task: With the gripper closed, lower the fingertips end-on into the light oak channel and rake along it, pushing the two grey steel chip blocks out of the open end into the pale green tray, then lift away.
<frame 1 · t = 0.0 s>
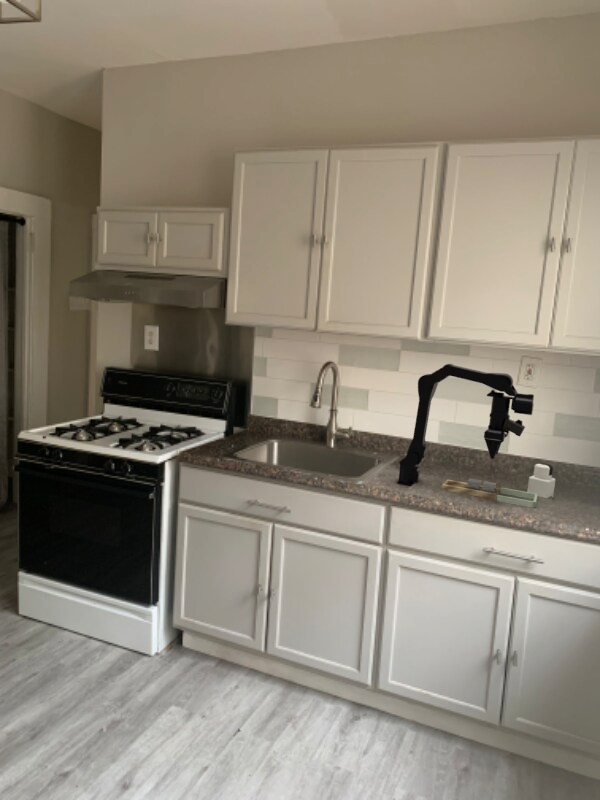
hand: (494, 456, 213), 15 cm above the worktop, tool pointing down, fingers open, 9 cm apart
chip 1: (488, 494, 215), point 1 cm above the worktop, touching oak channel
oak channel: (469, 494, 218), on the worktop
chip 2: (473, 491, 217), point 1 cm above the worktop, touching oak channel
green tray: (516, 503, 212), on the worktop
medicine bottle: (539, 497, 222), on the worktop
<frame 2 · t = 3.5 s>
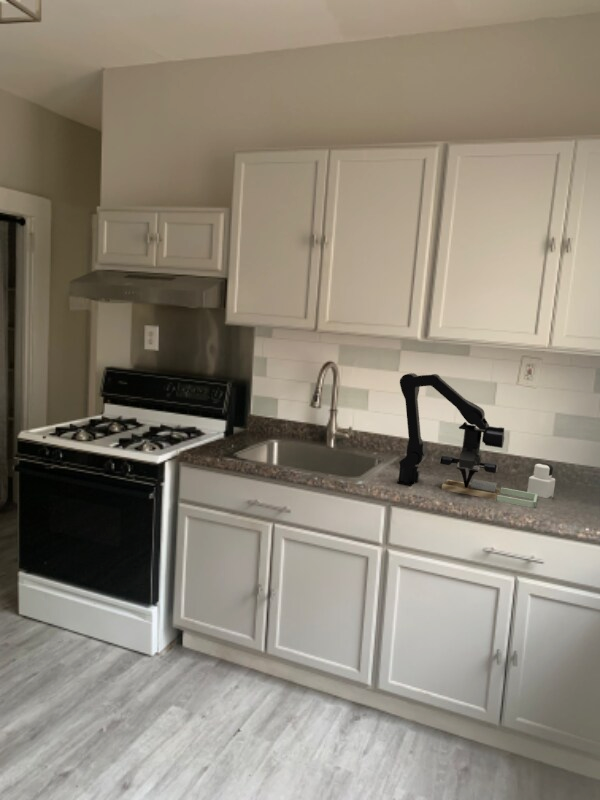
hand: (466, 487, 218), 2 cm above the worktop, tool pointing down, fingers closed
chip 1: (488, 494, 215), point 1 cm above the worktop, touching chip 2
chip 2: (476, 492, 217), point 1 cm above the worktop, touching chip 1, gripper, oak channel
everything else where it was.
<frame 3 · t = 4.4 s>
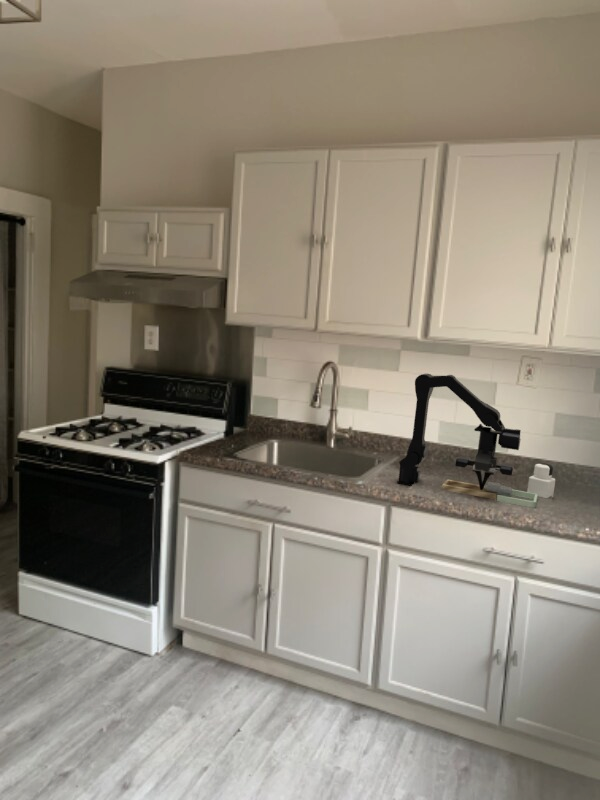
hand: (481, 489, 216), 2 cm above the worktop, tool pointing down, fingers closed
chip 1: (503, 499, 213), point 1 cm above the worktop
chip 2: (491, 495, 215), point 1 cm above the worktop, touching gripper, oak channel
everything else where it was.
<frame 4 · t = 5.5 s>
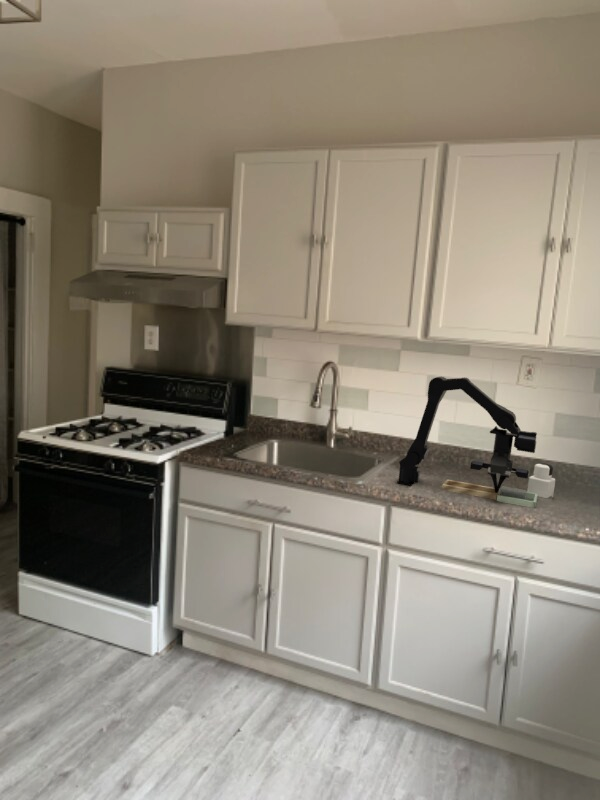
hand: (496, 492, 214), 2 cm above the worktop, tool pointing down, fingers closed
chip 1: (518, 502, 212), point 1 cm above the worktop, touching green tray
chip 2: (505, 499, 213), point 1 cm above the worktop, touching gripper
everything else where it was.
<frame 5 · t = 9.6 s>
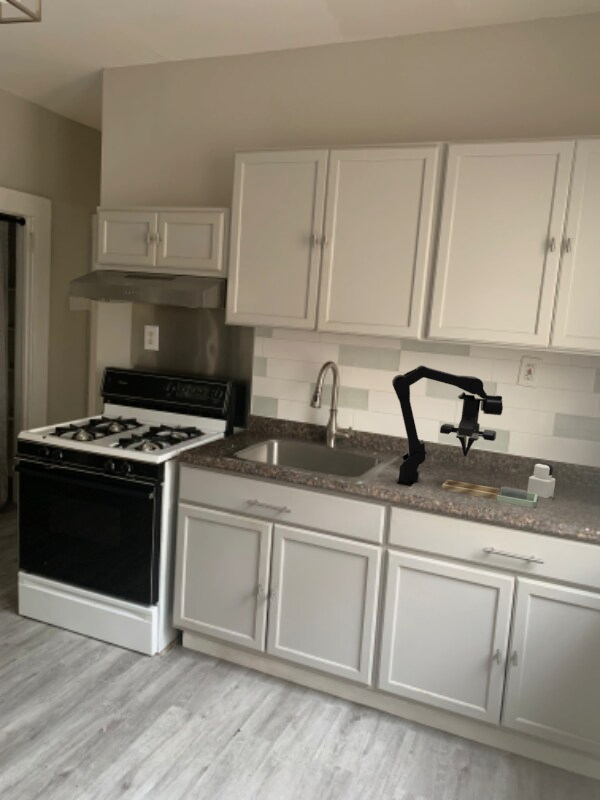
hand: (465, 455, 223), 12 cm above the worktop, tool pointing down, fingers closed
chip 2: (507, 500, 213), resting on green tray
at the end: chip 2 inside the target area (2.7 cm from its centre), point 0.5 cm above the worktop; chip 1 inside the target area (1.3 cm from its centre), point 0.5 cm above the worktop; chip 2 touching green tray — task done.
